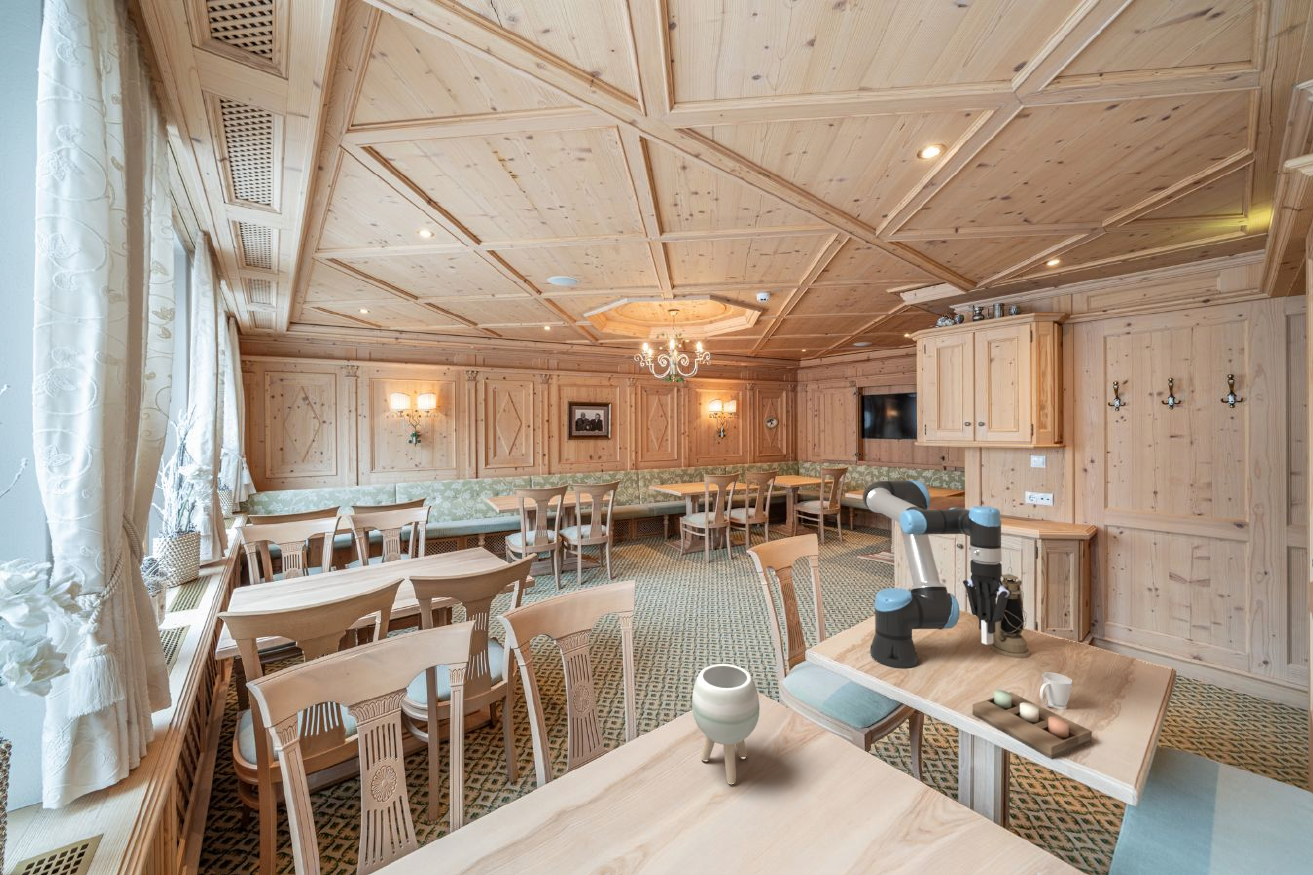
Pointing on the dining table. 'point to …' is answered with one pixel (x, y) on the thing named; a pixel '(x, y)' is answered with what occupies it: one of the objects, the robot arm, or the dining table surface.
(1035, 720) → the white egg
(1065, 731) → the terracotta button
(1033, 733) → the wooden egg tray
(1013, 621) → the lantern
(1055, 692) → the cup
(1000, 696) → the pale green egg
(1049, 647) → the dining table surface
